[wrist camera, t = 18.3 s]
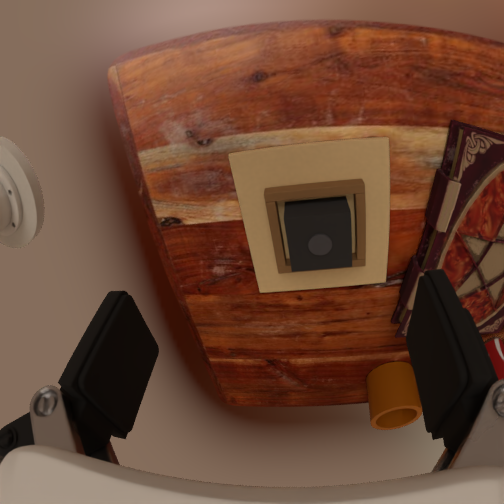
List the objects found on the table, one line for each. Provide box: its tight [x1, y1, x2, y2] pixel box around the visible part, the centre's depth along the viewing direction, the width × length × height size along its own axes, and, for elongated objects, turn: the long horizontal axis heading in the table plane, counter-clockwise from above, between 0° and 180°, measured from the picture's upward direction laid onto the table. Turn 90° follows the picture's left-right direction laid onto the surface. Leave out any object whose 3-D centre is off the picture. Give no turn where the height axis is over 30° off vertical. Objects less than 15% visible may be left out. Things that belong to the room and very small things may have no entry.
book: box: [391, 120, 504, 337], centre depth 31 cm, size 28×21×5 cm
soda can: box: [484, 337, 504, 380], centre depth 39 cm, size 5×5×12 cm
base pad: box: [228, 137, 390, 293], centre depth 34 cm, size 16×18×2 cm
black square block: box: [284, 196, 352, 272], centre depth 33 cm, size 6×6×4 cm
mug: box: [366, 362, 422, 430], centre depth 46 cm, size 9×12×9 cm
